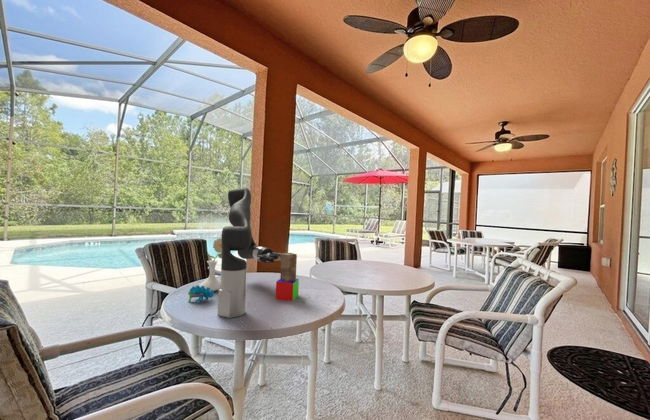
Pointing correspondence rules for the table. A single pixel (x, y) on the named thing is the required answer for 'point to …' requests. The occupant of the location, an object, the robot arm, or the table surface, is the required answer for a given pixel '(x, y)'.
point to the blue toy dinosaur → (200, 293)
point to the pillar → (288, 267)
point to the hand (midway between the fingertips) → (281, 259)
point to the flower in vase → (213, 269)
